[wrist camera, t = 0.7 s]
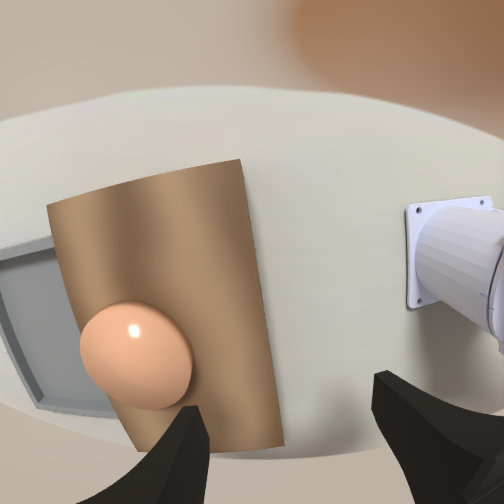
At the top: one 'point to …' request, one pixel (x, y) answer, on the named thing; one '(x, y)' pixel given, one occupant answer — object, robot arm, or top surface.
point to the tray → (45, 332)
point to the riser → (180, 292)
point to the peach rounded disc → (137, 355)
